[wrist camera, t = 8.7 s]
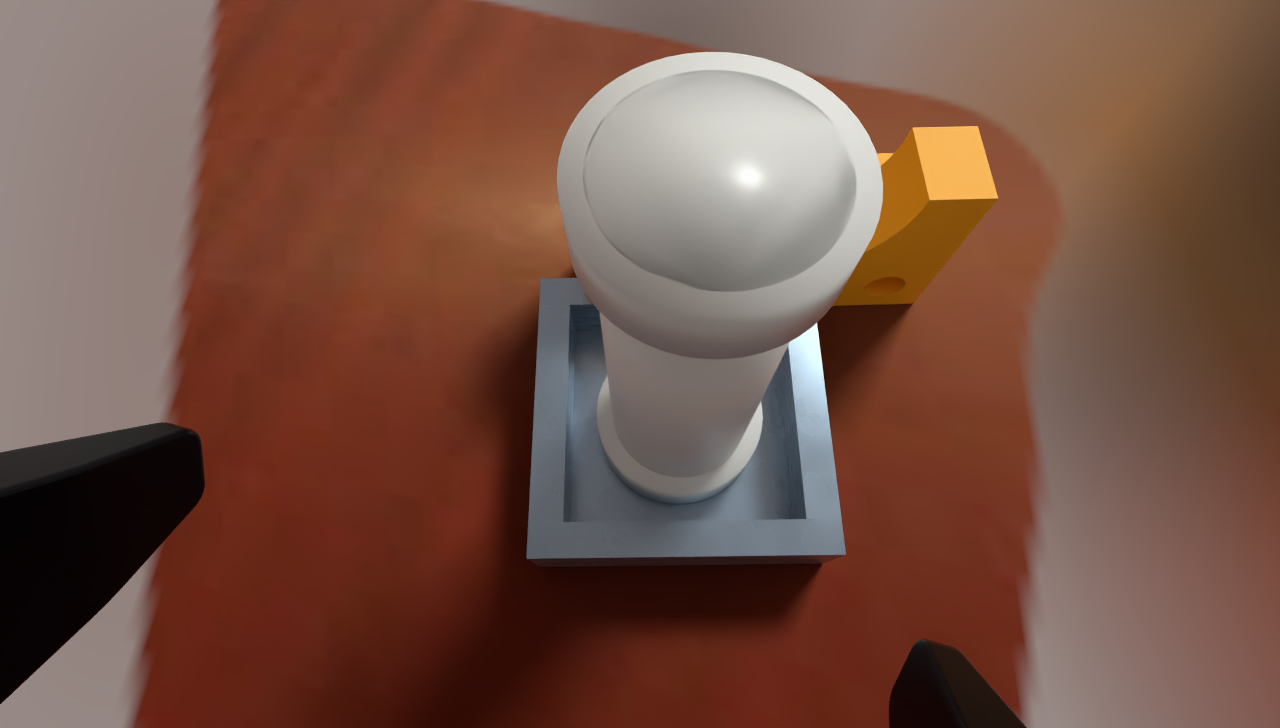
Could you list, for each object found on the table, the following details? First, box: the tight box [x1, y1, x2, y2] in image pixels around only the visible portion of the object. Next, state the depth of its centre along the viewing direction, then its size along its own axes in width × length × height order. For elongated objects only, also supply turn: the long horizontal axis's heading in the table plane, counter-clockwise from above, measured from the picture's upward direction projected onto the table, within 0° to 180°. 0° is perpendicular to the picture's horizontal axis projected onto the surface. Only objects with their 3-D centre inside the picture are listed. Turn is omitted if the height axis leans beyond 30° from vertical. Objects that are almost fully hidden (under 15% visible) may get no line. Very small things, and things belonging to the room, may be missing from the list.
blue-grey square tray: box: [526, 278, 846, 567], centre depth 22 cm, size 9×9×2 cm
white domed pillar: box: [557, 52, 883, 504], centre depth 16 cm, size 5×5×13 cm
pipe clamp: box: [833, 126, 998, 306], centre depth 22 cm, size 12×4×6 cm, turn 92°
